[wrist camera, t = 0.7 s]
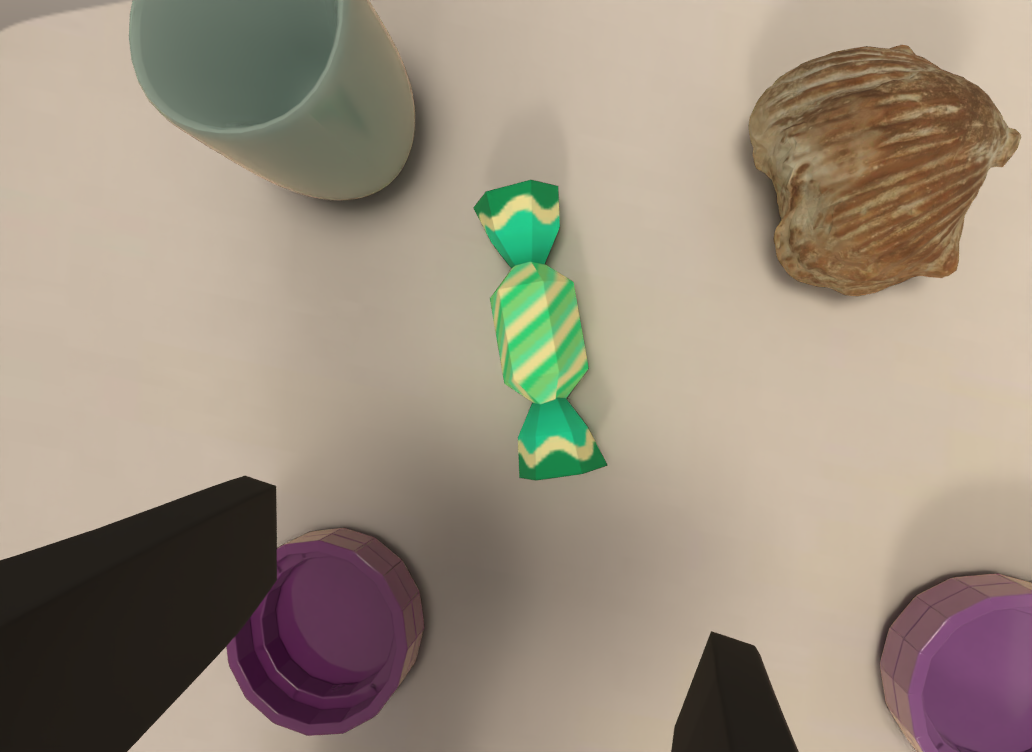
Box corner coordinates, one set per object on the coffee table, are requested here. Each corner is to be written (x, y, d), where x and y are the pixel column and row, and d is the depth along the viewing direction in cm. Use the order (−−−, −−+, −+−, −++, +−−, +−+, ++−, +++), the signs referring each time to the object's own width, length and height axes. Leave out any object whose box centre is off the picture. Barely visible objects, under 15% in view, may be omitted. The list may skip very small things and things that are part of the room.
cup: (445, 62, 29) (361, -103, 19) (426, 226, 29) (333, 146, 19) (290, 55, 30) (138, -103, 21) (272, 214, 30) (111, 131, 21)
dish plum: (402, 724, 29) (379, 762, 26) (245, 668, 30) (205, 699, 27) (445, 554, 29) (426, 573, 26) (285, 505, 30) (249, 518, 27)
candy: (622, 460, 27) (564, 480, 24) (560, 465, 29) (500, 483, 26) (575, 189, 27) (512, 174, 24) (518, 215, 30) (454, 204, 27)
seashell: (913, 79, 27) (725, 107, 27) (1036, -41, 20) (781, 0, 20) (951, 290, 26) (757, 315, 27) (1093, 242, 19) (827, 278, 20)
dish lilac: (1065, 801, 25) (1127, 857, 22) (853, 734, 26) (884, 778, 23) (1119, 604, 25) (1189, 634, 22) (904, 546, 26) (942, 566, 23)
